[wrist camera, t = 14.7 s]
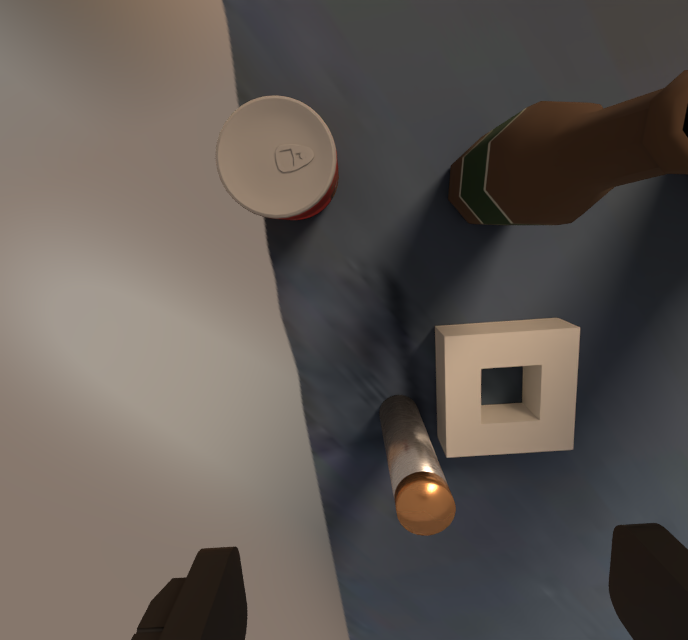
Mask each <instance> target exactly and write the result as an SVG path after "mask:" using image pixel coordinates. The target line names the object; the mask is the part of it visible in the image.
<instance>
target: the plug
mask: <svg viewBox="0 0 688 640" xmlns="http://www.w3.org/2000/svg"><path fill="white" fill-rule="evenodd" d="M379 416H380V422H381V428H382V433H383V439H384V444H385V450H386V455H387V461H388V466H389V472H390V478H391V483H392V489H393V494H394V500H395V505H396V511H397V516H398V519H399V521H400V523H401V525H402V526H403V527H404V528H405V529H406V530H408V531H409V532H411V533H414V534H417V535H433V534H436V533H439V532H441V531H443V530H444V529H445V528H447V527H448V526H449V525H450V523H451V522H452V520H453V518H454V516H455V511H456V507H455V502H454V499H453V497H452V494H451V492H450V489H449V487H448V484H447V482H446V479H445V477H444V474H443V472H442V469H441V466H440V464H439V461H438V459H437V456H436V454H435V451H434V449H433V446H432V444H431V441H430V439H429V436H428V434H427V431H426V429H425V426H424V423H423V421H422V418H421V416H420V413H419V411H418V408H417V406H416V404H415V402H414V401H413V400H412V399H411V398H409V397H407V396H404V395H394V396H391V397H389V398H387V399H386V400H385V401H384V402H383V403H382V405H381V407H380V410H379Z"/></svg>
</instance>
